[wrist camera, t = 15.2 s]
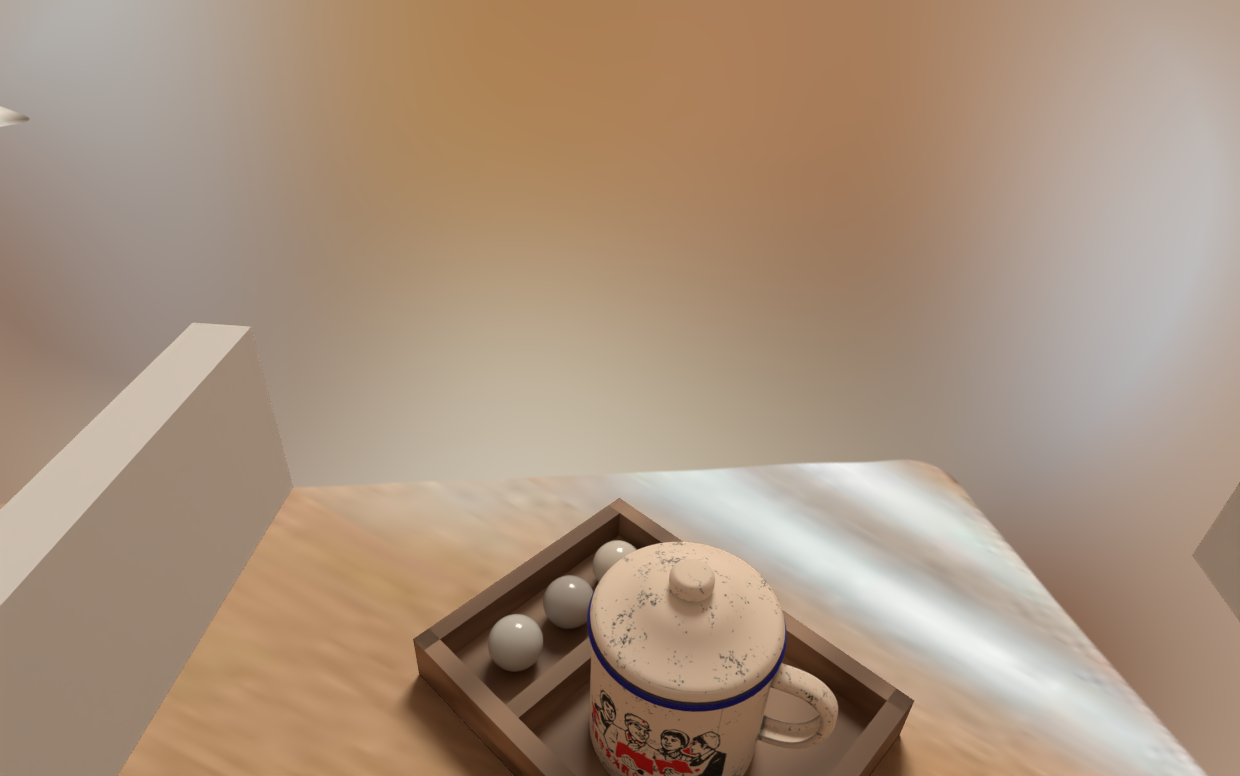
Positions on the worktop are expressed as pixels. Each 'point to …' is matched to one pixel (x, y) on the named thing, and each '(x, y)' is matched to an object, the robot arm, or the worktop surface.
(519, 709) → the parts tray
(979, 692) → the worktop surface
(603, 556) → the pebble
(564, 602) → the pebble
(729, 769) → the teacup with lid
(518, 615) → the pebble
